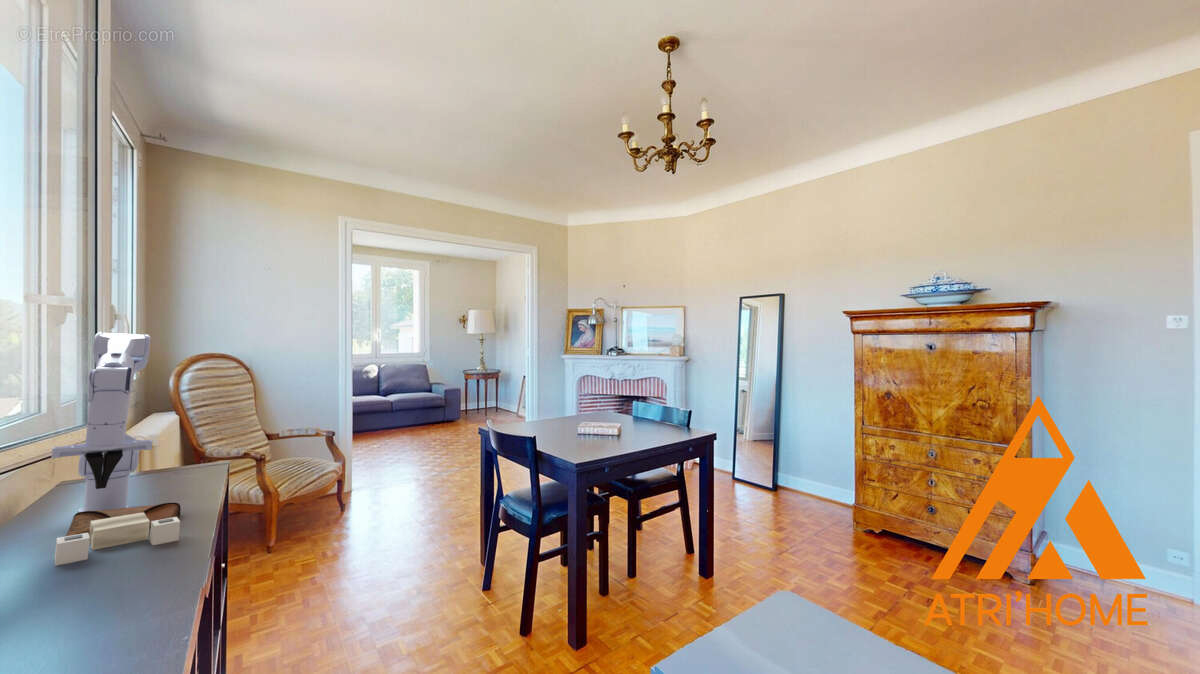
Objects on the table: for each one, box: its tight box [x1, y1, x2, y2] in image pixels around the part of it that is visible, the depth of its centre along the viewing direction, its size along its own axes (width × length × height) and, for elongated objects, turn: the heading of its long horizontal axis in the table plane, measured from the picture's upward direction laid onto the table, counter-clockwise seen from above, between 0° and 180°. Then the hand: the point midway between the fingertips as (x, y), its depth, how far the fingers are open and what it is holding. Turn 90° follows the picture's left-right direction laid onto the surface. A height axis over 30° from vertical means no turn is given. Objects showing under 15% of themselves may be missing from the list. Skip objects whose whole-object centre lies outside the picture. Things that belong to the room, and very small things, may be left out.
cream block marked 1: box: [54, 533, 90, 567], centre depth 88 cm, size 4×4×4 cm
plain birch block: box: [89, 512, 150, 551], centre depth 97 cm, size 8×8×4 cm
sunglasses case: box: [65, 502, 181, 536], centre depth 104 cm, size 18×7×7 cm
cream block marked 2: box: [149, 517, 181, 546], centre depth 98 cm, size 4×4×4 cm
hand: (100, 487), depth 98 cm, fingers closed
